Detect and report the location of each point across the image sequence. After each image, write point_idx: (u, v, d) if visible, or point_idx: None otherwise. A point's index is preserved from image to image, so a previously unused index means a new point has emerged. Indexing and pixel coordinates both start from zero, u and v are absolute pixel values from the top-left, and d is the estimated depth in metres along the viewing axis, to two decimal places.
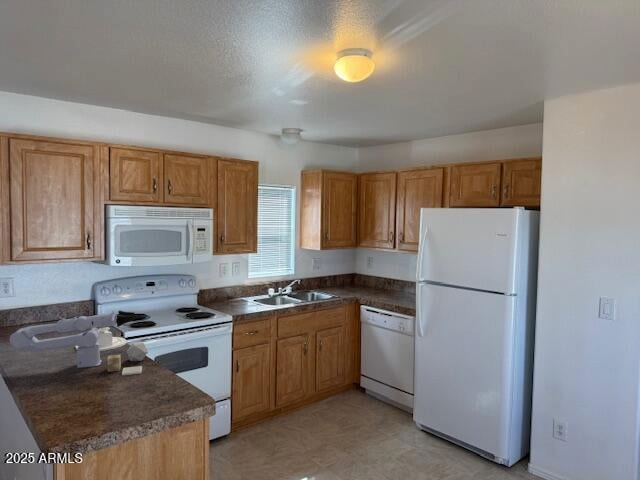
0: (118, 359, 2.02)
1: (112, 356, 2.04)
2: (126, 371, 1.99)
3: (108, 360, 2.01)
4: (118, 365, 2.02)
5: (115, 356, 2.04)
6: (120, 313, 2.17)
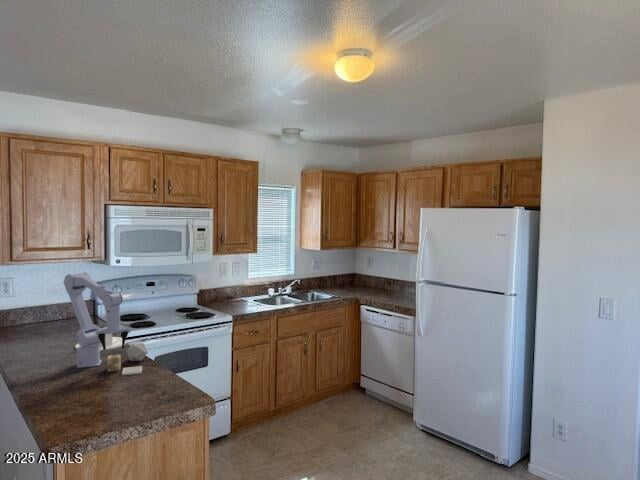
0: (118, 359, 2.02)
1: (112, 356, 2.04)
2: (126, 371, 1.99)
3: (108, 360, 2.01)
4: (118, 365, 2.02)
5: (115, 356, 2.04)
6: (122, 335, 2.03)
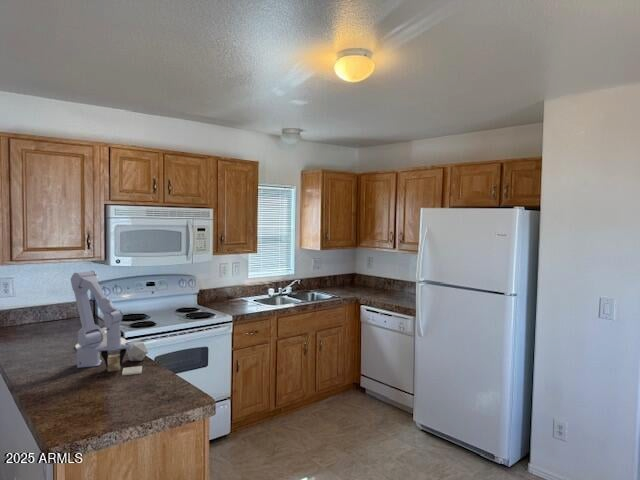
0: (118, 359, 2.02)
1: (112, 356, 2.04)
2: (126, 371, 1.99)
3: (108, 360, 2.01)
4: (118, 365, 2.02)
5: (115, 356, 2.04)
6: (120, 353, 2.03)
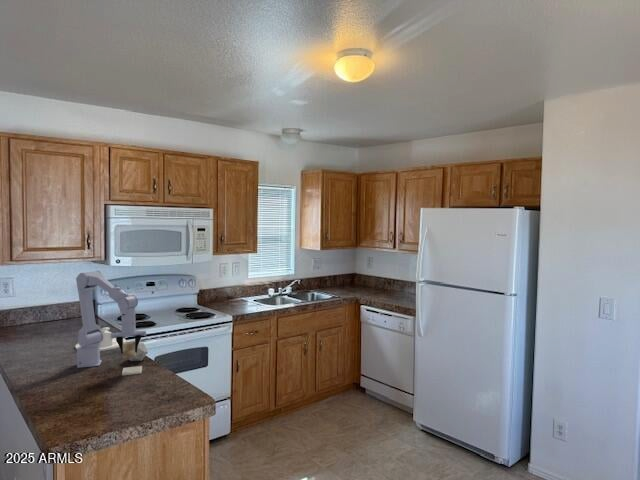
0: (133, 346, 1.99)
1: (127, 343, 2.01)
2: (126, 371, 1.99)
3: (123, 346, 1.98)
4: (133, 352, 1.99)
5: (130, 343, 2.01)
6: (135, 339, 2.00)
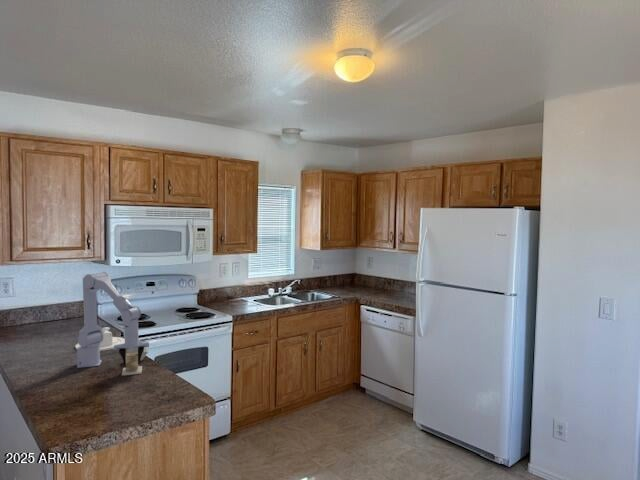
0: (136, 357, 1.99)
1: (130, 354, 2.01)
2: (126, 371, 1.99)
3: (126, 358, 1.98)
4: (136, 363, 1.99)
5: (132, 354, 2.00)
6: (138, 350, 2.00)
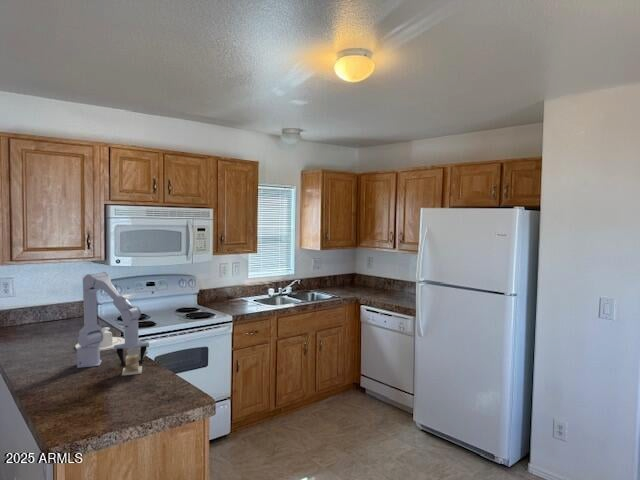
0: (136, 359, 1.99)
1: (130, 356, 2.01)
2: None
3: (126, 360, 1.98)
4: (136, 365, 1.99)
5: (133, 356, 2.00)
6: None
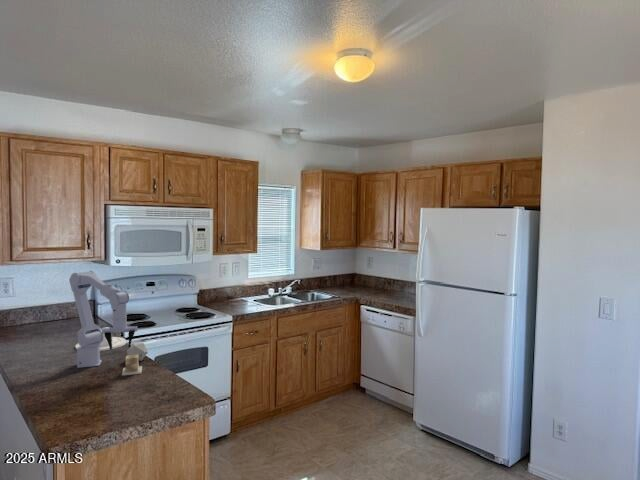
0: (136, 359, 1.99)
1: (130, 356, 2.01)
2: None
3: (126, 360, 1.98)
4: (136, 365, 1.99)
5: (133, 356, 2.00)
6: (128, 334, 2.01)
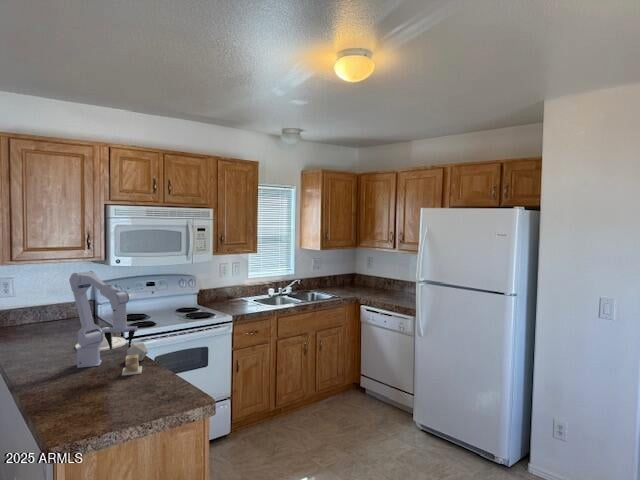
0: (136, 359, 1.99)
1: (130, 356, 2.01)
2: None
3: (126, 360, 1.98)
4: (136, 365, 1.99)
5: (133, 356, 2.00)
6: (128, 334, 2.01)
